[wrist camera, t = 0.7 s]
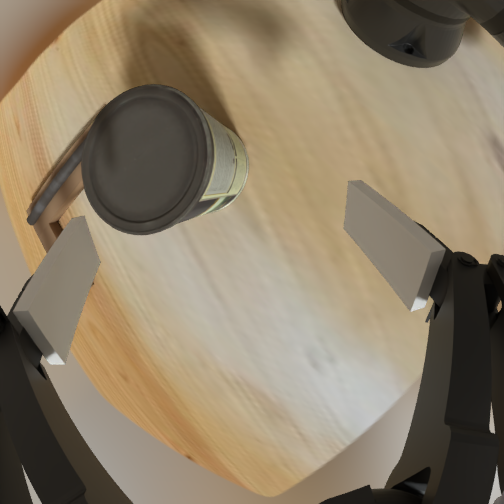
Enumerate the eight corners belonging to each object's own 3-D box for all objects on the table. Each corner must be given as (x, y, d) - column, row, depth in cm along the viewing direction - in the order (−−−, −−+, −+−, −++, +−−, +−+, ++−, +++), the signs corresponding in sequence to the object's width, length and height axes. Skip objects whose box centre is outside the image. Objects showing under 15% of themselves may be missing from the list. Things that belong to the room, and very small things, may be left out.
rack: (109, 115, 31) (93, 110, 28) (173, 213, 32) (159, 217, 29) (35, 209, 36) (19, 212, 33) (82, 295, 38) (67, 303, 34)
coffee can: (212, 232, 32) (152, 266, 19) (146, 178, 32) (62, 181, 19) (270, 156, 29) (245, 134, 16) (196, 105, 29) (130, 62, 16)
